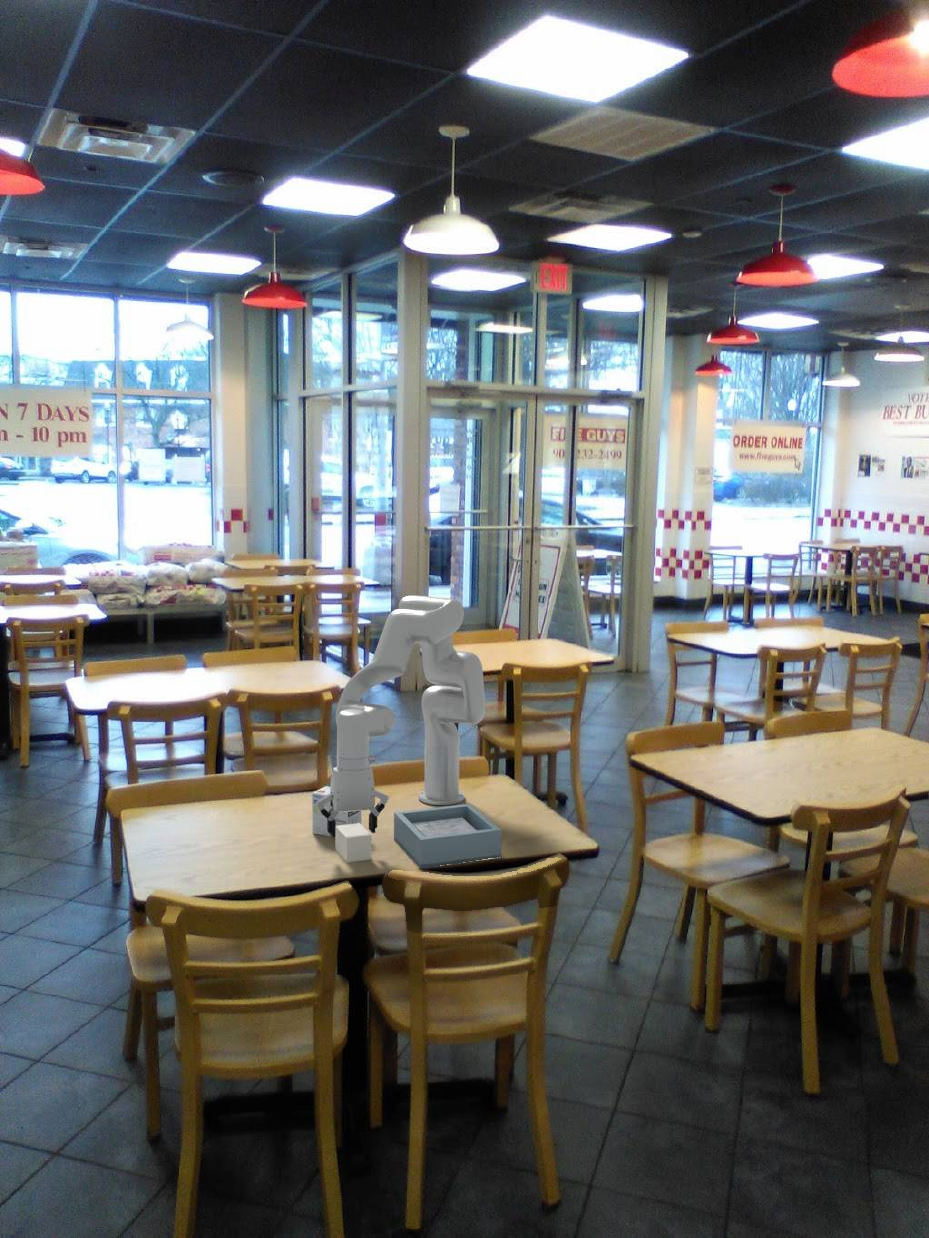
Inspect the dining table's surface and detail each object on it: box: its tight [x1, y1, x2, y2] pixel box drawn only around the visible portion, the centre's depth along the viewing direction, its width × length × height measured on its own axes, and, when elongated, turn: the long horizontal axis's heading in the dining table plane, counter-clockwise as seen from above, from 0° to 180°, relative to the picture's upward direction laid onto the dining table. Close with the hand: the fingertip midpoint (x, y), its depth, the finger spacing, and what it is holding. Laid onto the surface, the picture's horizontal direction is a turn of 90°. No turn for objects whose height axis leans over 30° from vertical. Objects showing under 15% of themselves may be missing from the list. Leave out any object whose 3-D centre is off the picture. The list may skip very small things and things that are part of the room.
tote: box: [393, 803, 502, 870], centre depth 257 cm, size 20×20×7 cm
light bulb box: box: [311, 785, 362, 838], centre depth 267 cm, size 11×7×11 cm, turn 65°
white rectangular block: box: [334, 823, 373, 864], centre depth 253 cm, size 9×6×6 cm, turn 24°
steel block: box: [412, 817, 477, 837], centre depth 257 cm, size 13×13×4 cm
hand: (352, 833), depth 252 cm, fingers open, 9 cm apart
